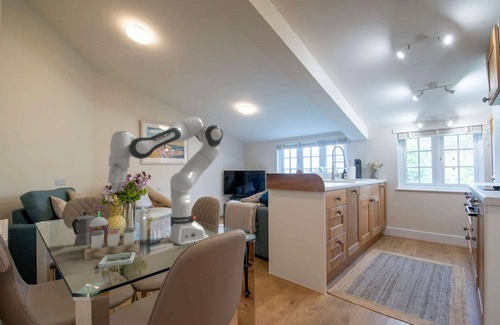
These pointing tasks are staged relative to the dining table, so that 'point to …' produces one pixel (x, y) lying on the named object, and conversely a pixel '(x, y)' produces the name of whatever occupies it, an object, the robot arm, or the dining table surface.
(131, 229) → the block
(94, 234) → the block
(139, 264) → the dining table surface
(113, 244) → the block
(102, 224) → the smoothie
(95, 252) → the socket strip
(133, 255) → the tray
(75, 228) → the coffeepot
